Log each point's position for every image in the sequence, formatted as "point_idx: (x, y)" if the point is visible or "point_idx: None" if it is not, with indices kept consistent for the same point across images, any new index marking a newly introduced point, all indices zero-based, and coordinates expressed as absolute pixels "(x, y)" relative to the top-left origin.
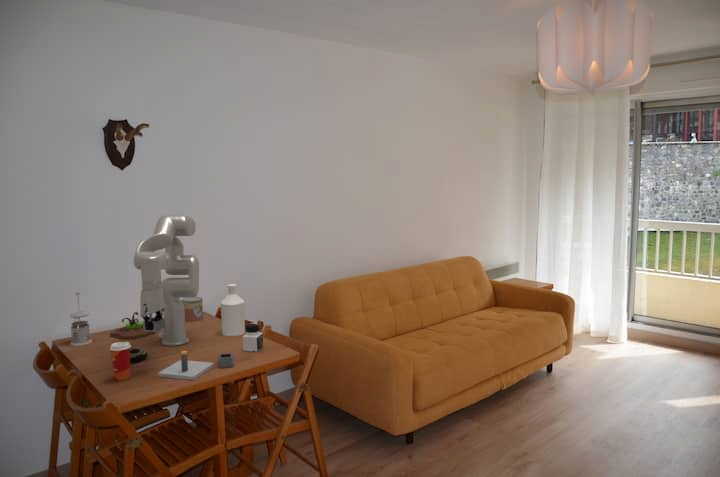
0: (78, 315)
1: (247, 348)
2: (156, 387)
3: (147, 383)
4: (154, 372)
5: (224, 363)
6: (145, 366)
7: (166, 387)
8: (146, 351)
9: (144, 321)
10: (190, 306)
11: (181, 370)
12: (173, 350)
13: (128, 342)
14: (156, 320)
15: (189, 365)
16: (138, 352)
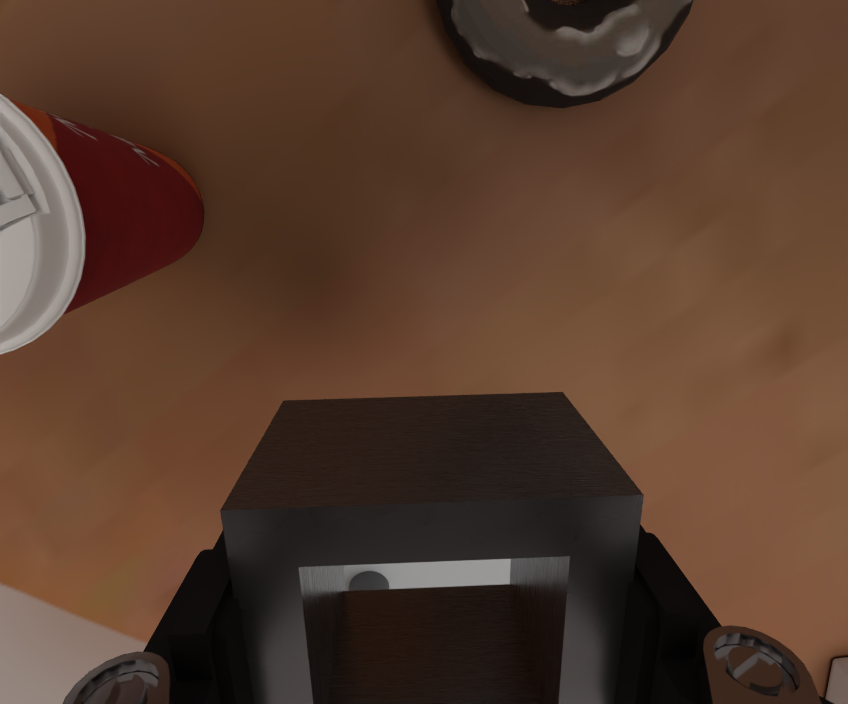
0: None
1: (841, 699)
2: (117, 543)
3: (145, 452)
4: (334, 368)
5: None
6: (423, 217)
7: (144, 594)
8: (651, 60)
9: (233, 548)
10: None
11: (365, 567)
12: (822, 197)
13: (23, 284)
14: (548, 608)
15: (465, 561)
16: (556, 36)
